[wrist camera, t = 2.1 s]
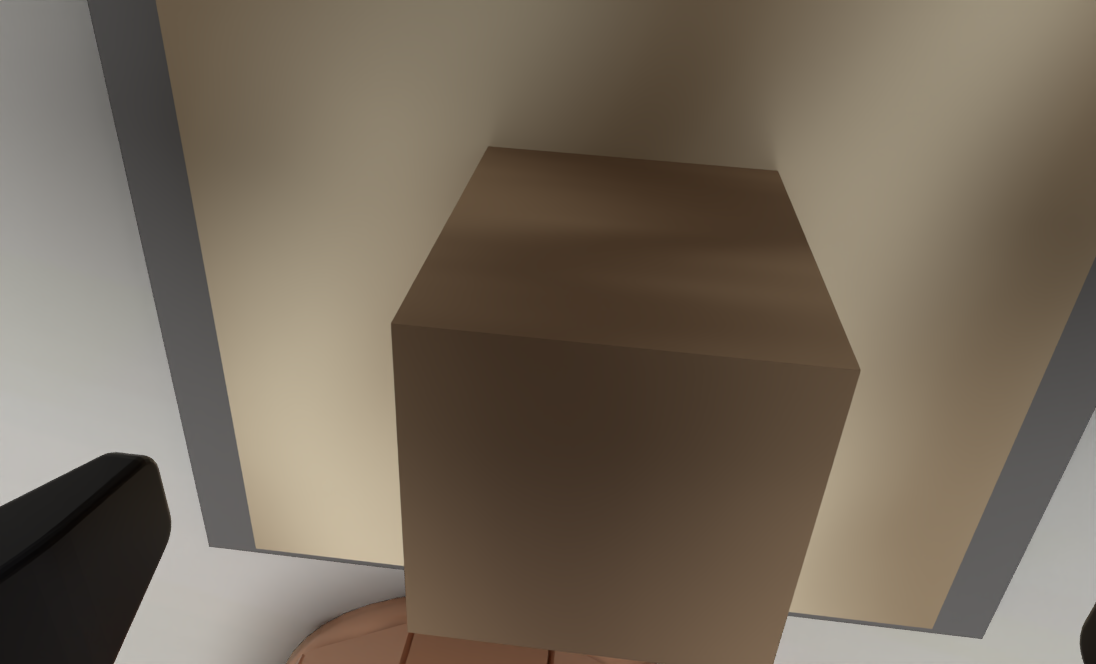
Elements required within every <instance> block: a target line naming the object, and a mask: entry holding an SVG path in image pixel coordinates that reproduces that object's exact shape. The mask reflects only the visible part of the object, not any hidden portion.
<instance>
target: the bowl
mask: <svg viewBox="0 0 1096 664" xmlns="http://www.w3.org/2000/svg"><path fill="white" fill-rule="evenodd" d="M286 664H657V663H650V662H642V661H634V660H626V659H618V658H610V657H602V656H594V655H586V654H578V653H570V652H562V651H554V650H546V649H538V648H530V647H522V646H514V645H506V644H498V643H490V642H482V641H474V640H466V639H458V638H450V637H441V636H433V635H425V634H417V633H409V632H408V629H407V611H406V597H401V598H395V599H391V600H386V601H382V602H378V603H373V604H369V605H367V606H364V607H361V608H358V609H356V610H353V611H350V612H347V613H345V614H343V615H341V616H339V617H337V618H335V619H333V620H331V621H330V622H328V623H326V624H324V625H323V626H321V627H320V628H319V629H317V630H316V631H315V632H313V633H312V634H310V635H309V636H308V637H307V638H306V639H305V640H304V641H303V642H302V643H301V644H300V645H299V646H298V647H297V648H296V649H295V650H294V651H293V653H292V654H291V656H290V658H289V659H288V661H287V662H286Z"/></svg>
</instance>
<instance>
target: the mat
mask: <svg viewBox="0 0 1096 664" xmlns="http://www.w3.org/2000/svg"><path fill="white" fill-rule="evenodd" d="M87 1H88V6H89V10H90V15H91V19H92V24H93V28H94V33H95V37H96V42H97V46H98V51H99V55H100V60H101V64H102V68H103V73H104V77H105V82H106V86H107V91H108V95H109V100H110V104H111V109H112V113H113V118H114V122H115V127H116V131H117V136H118V140H119V144H120V149H121V153H122V158H123V162H124V167H125V171H126V176H127V180H128V185H129V189H130V194H131V198H132V203H133V207H134V212H135V216H136V221H137V225H138V229H139V234H140V238H141V243H142V247H143V252H144V256H145V261H146V265H147V270H148V274H149V279H150V283H151V288H152V292H153V297H154V301H155V305H156V310H157V314H158V319H159V323H160V328H161V332H162V337H163V341H164V346H165V350H166V355H167V359H168V364H169V368H170V373H171V377H172V382H173V386H174V390H175V395H176V399H177V404H178V408H179V413H180V417H181V422H182V426H183V431H184V435H185V440H186V444H187V449H188V453H189V458H190V462H191V466H192V471H193V475H194V480H195V484H196V489H197V493H198V498H199V502H200V507H201V511H202V516H203V520H204V525H205V529H206V534H207V538H208V543H209V547H217V548H225V549H233V550H242V551H250V552H258V553H267V554H275V555H283V556H292V557H300V558H309V559H317V560H325V561H334V562H342V563H350V564H359V565H367V566H376V567H384V568H392V569H401V570H404V566H399V565H391V564H382V563H374V562H366V561H357V560H349V559H340V558H332V557H324V556H315V555H307V554H298V553H290V552H282V551H273V550H265V549H257V548H256V546H255V540H254V535H253V529H252V524H251V518H250V513H249V507H248V502H247V497H246V491H245V486H244V480H243V475H242V469H241V464H240V458H239V453H238V447H237V442H236V437H235V431H234V426H233V420H232V415H231V409H230V404H229V398H228V393H227V387H226V382H225V377H224V371H223V366H222V360H221V355H220V349H219V344H218V338H217V333H216V327H215V322H214V316H213V311H212V306H211V300H210V295H209V289H208V284H207V278H206V273H205V267H204V262H203V256H202V251H201V246H200V240H199V235H198V229H197V224H196V218H195V213H194V207H193V202H192V196H191V191H190V185H189V180H188V175H187V169H186V164H185V158H184V153H183V147H182V142H181V136H180V131H179V125H178V120H177V115H176V109H175V104H174V98H173V93H172V87H171V82H170V76H169V71H168V65H167V60H166V54H165V49H164V44H163V38H162V33H161V27H160V22H159V16H158V11H157V5H156V0H87ZM1095 408H1096V257H1095V259H1094V261H1093V264H1092V266H1091V268H1090V271H1089V273H1088V275H1087V277H1086V280H1085V282H1084V284H1083V286H1082V289H1081V291H1080V293H1079V296H1078V298H1077V300H1076V302H1075V305H1074V307H1073V309H1072V312H1071V314H1070V316H1069V318H1068V321H1067V323H1066V325H1065V327H1064V330H1063V332H1062V334H1061V337H1060V339H1059V341H1058V343H1057V346H1056V348H1055V350H1054V353H1053V355H1052V357H1051V359H1050V362H1049V364H1048V366H1047V368H1046V371H1045V373H1044V375H1043V378H1042V380H1041V382H1040V384H1039V387H1038V389H1037V391H1036V394H1035V396H1034V398H1033V400H1032V403H1031V405H1030V407H1029V410H1028V412H1027V414H1026V416H1025V419H1024V421H1023V423H1022V425H1021V428H1020V430H1019V432H1018V435H1017V437H1016V439H1015V441H1014V444H1013V446H1012V448H1011V451H1010V453H1009V455H1008V457H1007V460H1006V462H1005V464H1004V466H1003V469H1002V471H1001V473H1000V476H999V478H998V480H997V482H996V485H995V487H994V489H993V492H992V494H991V496H990V498H989V501H988V503H987V505H986V507H985V510H984V512H983V514H982V517H981V519H980V521H979V523H978V526H977V528H976V530H975V533H974V535H973V537H972V539H971V542H970V544H969V546H968V548H967V551H966V553H965V555H964V558H963V560H962V562H961V564H960V567H959V569H958V571H957V574H956V576H955V578H954V580H953V583H952V585H951V587H950V589H949V592H948V594H947V596H946V599H945V601H944V603H943V605H942V608H941V610H940V612H939V615H938V617H937V619H936V621H935V624H934V626H933V628H932V629H928V628H920V627H911V626H903V625H895V624H886V623H878V622H869V621H861V620H853V619H844V618H836V617H827V616H819V615H811V614H802V613H794V612H789V613H788V616H794V617H803V618H811V619H819V620H828V621H836V622H844V623H853V624H861V625H870V626H878V627H886V628H895V629H903V630H911V631H920V632H928V633H937V634H945V635H953V636H962V637H970V638H978V639H982V638H983V636H984V634H985V632H986V630H987V628H988V626H989V624H990V622H991V620H992V618H993V616H994V614H995V612H996V610H997V608H998V606H999V603H1000V601H1001V599H1002V597H1003V595H1004V593H1005V591H1006V589H1007V587H1008V585H1009V583H1010V581H1011V579H1012V577H1013V575H1014V573H1015V571H1016V569H1017V567H1018V565H1019V563H1020V561H1021V559H1022V557H1023V555H1024V553H1025V550H1026V548H1027V546H1028V544H1029V542H1030V540H1031V538H1032V536H1033V534H1034V532H1035V530H1036V528H1037V526H1038V524H1039V522H1040V520H1041V518H1042V516H1043V514H1044V512H1045V510H1046V508H1047V506H1048V504H1049V502H1050V500H1051V497H1052V495H1053V493H1054V491H1055V489H1056V487H1057V485H1058V483H1059V481H1060V479H1061V477H1062V475H1063V473H1064V471H1065V469H1066V467H1067V465H1068V463H1069V461H1070V459H1071V457H1072V455H1073V453H1074V451H1075V449H1076V447H1077V444H1078V442H1079V440H1080V438H1081V436H1082V434H1083V432H1084V430H1085V428H1086V426H1087V424H1088V422H1089V420H1090V418H1091V416H1092V414H1093V412H1094V410H1095Z"/></svg>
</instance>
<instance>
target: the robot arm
mask: <svg viewBox="0 0 1096 664" xmlns="http://www.w3.org/2000/svg"><path fill="white" fill-rule="evenodd" d="M170 532H171V516H170V512H169V508H168V504H167V500H166V496H165V492H164V488H163V484H162V480H161V476H160V472H159V468H158V466H157V464H156V462H155V461H154V460H153V459H152V458H150V457H148V456H145V455H136V454H127V453H118V452H114V453H107V454H104V455H102V456H100V457H98V458H96V459H94V460H92V461H90V462H88V463H86V464H84V465H82V466H80V467H78V468H76V469H74V470H72V471H70V472H68V473H66V474H64V475H62V476H60V477H58V478H56V479H54V480H52V481H50V482H48V483H46V484H44V485H42V486H40V487H38V488H36V489H34V490H32V491H30V492H28V493H26V494H24V495H22V496H20V497H18V498H16V499H14V500H12V501H10V502H8V503H6V504H4V505H2V506H0V664H114V662H115V659H116V657H117V655H118V653H119V651H120V648H121V646H122V644H123V642H124V639H125V637H126V635H127V633H128V630H129V628H130V626H131V624H132V622H133V619H134V617H135V615H136V613H137V610H138V608H139V606H140V604H141V601H142V599H143V597H144V595H145V592H146V590H147V588H148V586H149V584H150V581H151V579H152V577H153V575H154V572H155V570H156V568H157V566H158V563H159V561H160V559H161V557H162V554H163V552H164V550H165V548H166V545H167V543H168V540H169V536H170ZM1080 649H1081V655H1082V659H1083V662H1084V664H1096V603H1095V605H1094V607H1093V609H1092V610H1091V612H1090V614H1089V616H1088V617H1087V619H1086V621H1085V622H1084V625H1083V627H1082V630H1081V635H1080Z"/></svg>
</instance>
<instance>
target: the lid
mask: <svg viewBox="0 0 1096 664" xmlns="http://www.w3.org/2000/svg"><path fill="white" fill-rule="evenodd" d="M156 5H157V11H158V16H159V22H160V27H161V33H162V38H163V44H164V49H165V54H166V60H167V65H168V71H169V76H170V82H171V87H172V93H173V98H174V104H175V109H176V115H177V120H178V125H179V131H180V136H181V142H182V147H183V153H184V158H185V164H186V169H187V175H188V180H189V185H190V191H191V196H192V202H193V207H194V213H195V218H196V224H197V229H198V235H199V240H200V246H201V251H202V256H203V262H204V267H205V273H206V278H207V284H208V289H209V295H210V300H211V306H212V311H213V316H214V322H215V327H216V333H217V338H218V344H219V349H220V355H221V360H222V366H223V371H224V377H225V382H226V387H227V393H228V398H229V404H230V409H231V415H232V420H233V426H234V431H235V437H236V442H237V447H238V453H239V458H240V464H241V469H242V475H243V480H244V486H245V491H246V497H247V502H248V507H249V513H250V518H251V524H252V529H253V535H254V540H255V546H256V548H257V549H265V550H273V551H282V552H290V553H298V554H307V555H315V556H324V557H332V558H340V559H349V560H357V561H366V562H374V563H382V564H391V565H399V566H404V574H405V593H406V611H407V629H408V632H409V633H417V634H425V635H433V636H441V637H450V638H458V639H466V640H474V641H482V642H490V643H498V644H506V645H514V646H522V647H530V648H538V649H546V650H554V651H562V652H570V653H578V654H586V655H594V656H602V657H610V658H618V659H626V660H634V661H642V662H650V663H658V664H773V663H774V659H775V656H776V653H777V649H778V646H779V643H780V639H781V636H782V633H783V629H784V626H785V623H786V619H787V616H788V613H789V612H794V613H802V614H811V615H819V616H827V617H836V618H844V619H853V620H861V621H869V622H878V623H886V624H895V625H903V626H911V627H920V628H928V629H932V628H933V626H934V624H935V621H936V619H937V617H938V615H939V612H940V610H941V608H942V605H943V603H944V601H945V599H946V596H947V594H948V592H949V589H950V587H951V585H952V583H953V580H954V578H955V576H956V574H957V571H958V569H959V567H960V564H961V562H962V560H963V558H964V555H965V553H966V551H967V548H968V546H969V544H970V542H971V539H972V537H973V535H974V533H975V530H976V528H977V526H978V523H979V521H980V519H981V517H982V514H983V512H984V510H985V507H986V505H987V503H988V501H989V498H990V496H991V494H992V492H993V489H994V487H995V485H996V482H997V480H998V478H999V476H1000V473H1001V471H1002V469H1003V466H1004V464H1005V462H1006V460H1007V457H1008V455H1009V453H1010V451H1011V448H1012V446H1013V444H1014V441H1015V439H1016V437H1017V435H1018V432H1019V430H1020V428H1021V425H1022V423H1023V421H1024V419H1025V416H1026V414H1027V412H1028V410H1029V407H1030V405H1031V403H1032V400H1033V398H1034V396H1035V394H1036V391H1037V389H1038V387H1039V384H1040V382H1041V380H1042V378H1043V375H1044V373H1045V371H1046V368H1047V366H1048V364H1049V362H1050V359H1051V357H1052V355H1053V353H1054V350H1055V348H1056V346H1057V343H1058V341H1059V339H1060V337H1061V334H1062V332H1063V330H1064V327H1065V325H1066V323H1067V321H1068V318H1069V316H1070V314H1071V312H1072V309H1073V307H1074V305H1075V302H1076V300H1077V298H1078V296H1079V293H1080V291H1081V289H1082V286H1083V284H1084V282H1085V280H1086V277H1087V275H1088V273H1089V271H1090V268H1091V266H1092V264H1093V261H1094V259H1095V257H1096V0H156Z"/></svg>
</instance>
